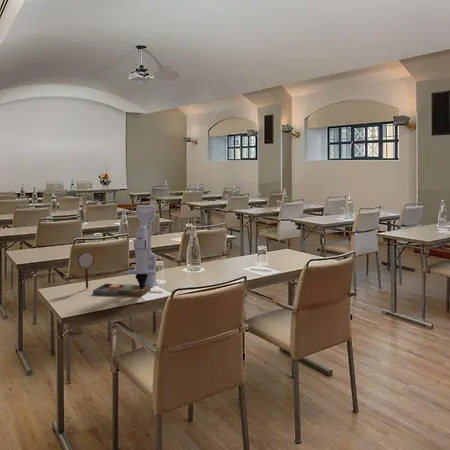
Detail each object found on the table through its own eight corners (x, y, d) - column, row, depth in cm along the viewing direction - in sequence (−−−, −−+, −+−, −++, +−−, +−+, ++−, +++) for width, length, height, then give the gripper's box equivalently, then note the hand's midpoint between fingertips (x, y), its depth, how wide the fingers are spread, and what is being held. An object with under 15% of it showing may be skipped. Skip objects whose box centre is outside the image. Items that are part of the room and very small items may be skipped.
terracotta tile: (120, 284, 259) (120, 288, 259) (112, 284, 260) (112, 288, 260) (117, 286, 255) (117, 290, 255) (109, 286, 255) (109, 290, 256)
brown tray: (127, 289, 259) (127, 284, 259) (150, 290, 257) (150, 285, 256) (117, 295, 248) (117, 290, 247) (141, 296, 245) (141, 291, 245)
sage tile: (125, 288, 252) (125, 284, 252) (134, 288, 251) (133, 284, 251) (122, 290, 248) (122, 286, 247) (130, 290, 247) (130, 286, 246)
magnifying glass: (94, 287, 263) (92, 251, 260) (95, 288, 262) (94, 251, 259) (78, 290, 258) (76, 253, 255) (79, 290, 257) (78, 253, 254)
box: (105, 287, 263) (105, 283, 263) (127, 288, 260) (127, 284, 260) (93, 294, 249) (92, 290, 249) (116, 295, 247) (116, 291, 246)
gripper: (124, 263, 243) (125, 289, 245) (152, 264, 241) (153, 291, 242) (130, 260, 250) (131, 286, 252) (157, 261, 247) (157, 287, 249)
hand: (142, 288), depth 248 cm, fingers closed
